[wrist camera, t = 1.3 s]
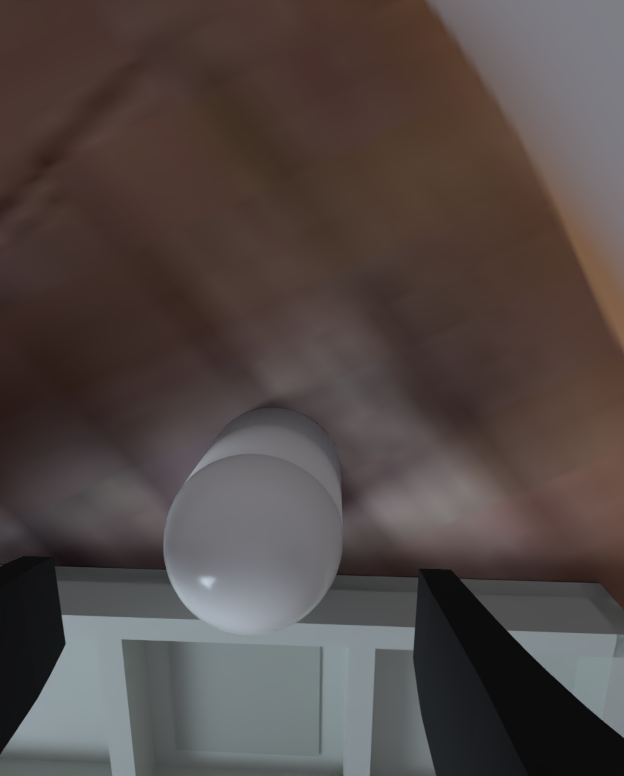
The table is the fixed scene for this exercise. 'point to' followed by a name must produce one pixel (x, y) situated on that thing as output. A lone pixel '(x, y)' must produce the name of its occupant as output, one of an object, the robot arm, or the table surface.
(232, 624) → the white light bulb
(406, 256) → the table surface
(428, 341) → the table surface
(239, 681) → the egg tray
